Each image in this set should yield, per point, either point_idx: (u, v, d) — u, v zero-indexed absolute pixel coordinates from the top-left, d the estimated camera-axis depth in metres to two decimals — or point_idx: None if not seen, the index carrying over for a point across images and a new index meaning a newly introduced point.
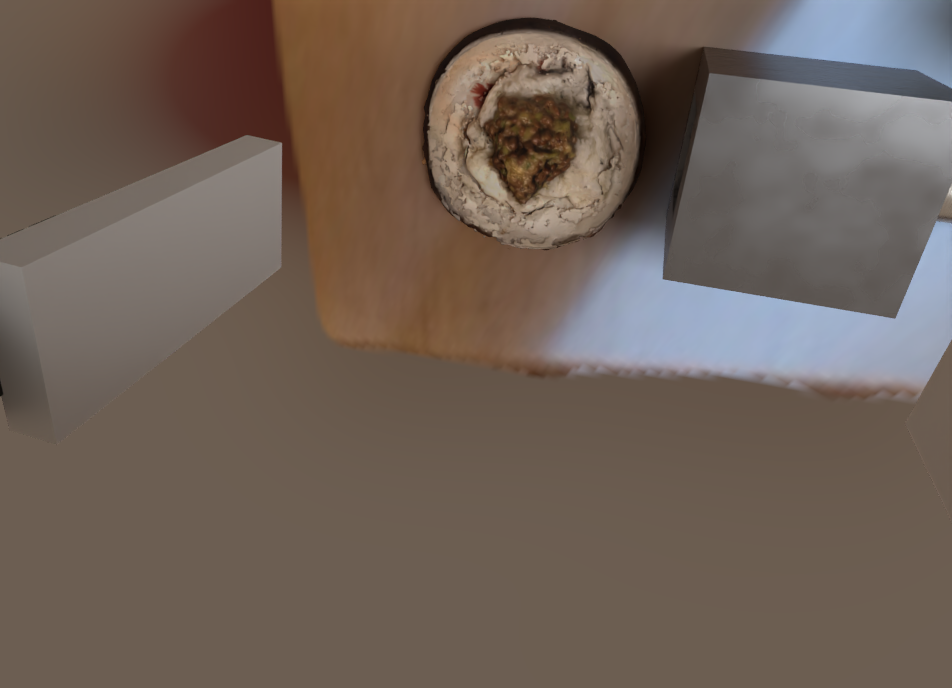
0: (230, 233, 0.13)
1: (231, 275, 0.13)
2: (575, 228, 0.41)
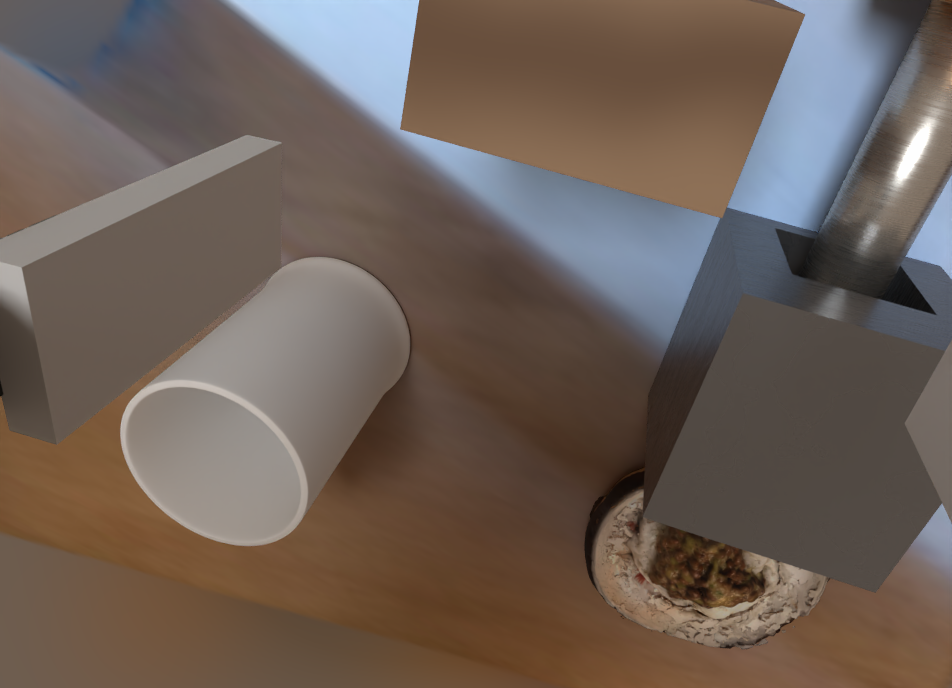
0: (230, 233, 0.13)
1: (231, 275, 0.13)
2: None
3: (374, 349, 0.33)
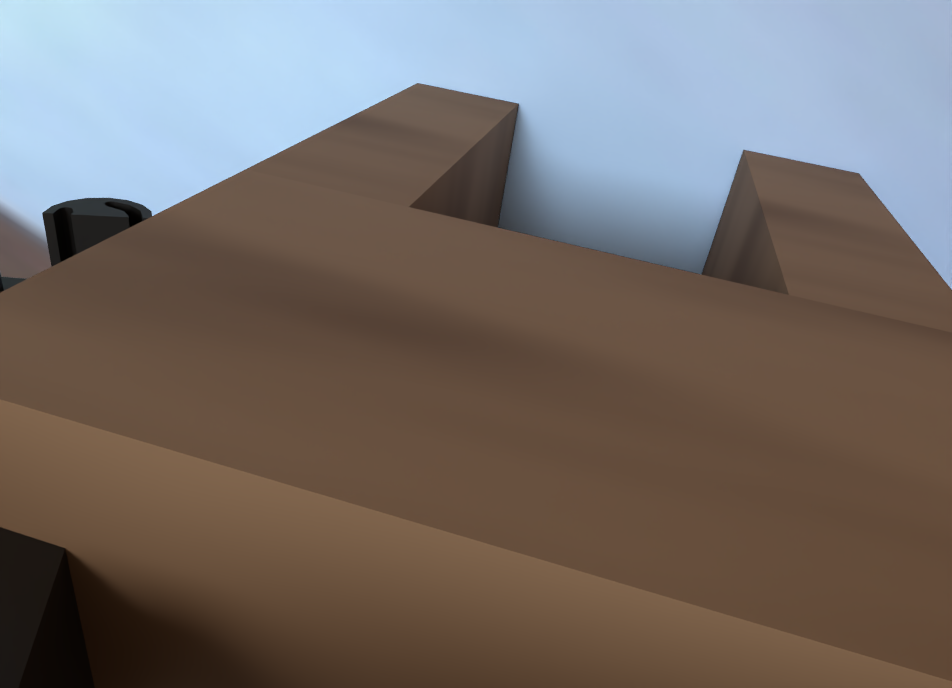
0: None
1: None
2: None
3: None
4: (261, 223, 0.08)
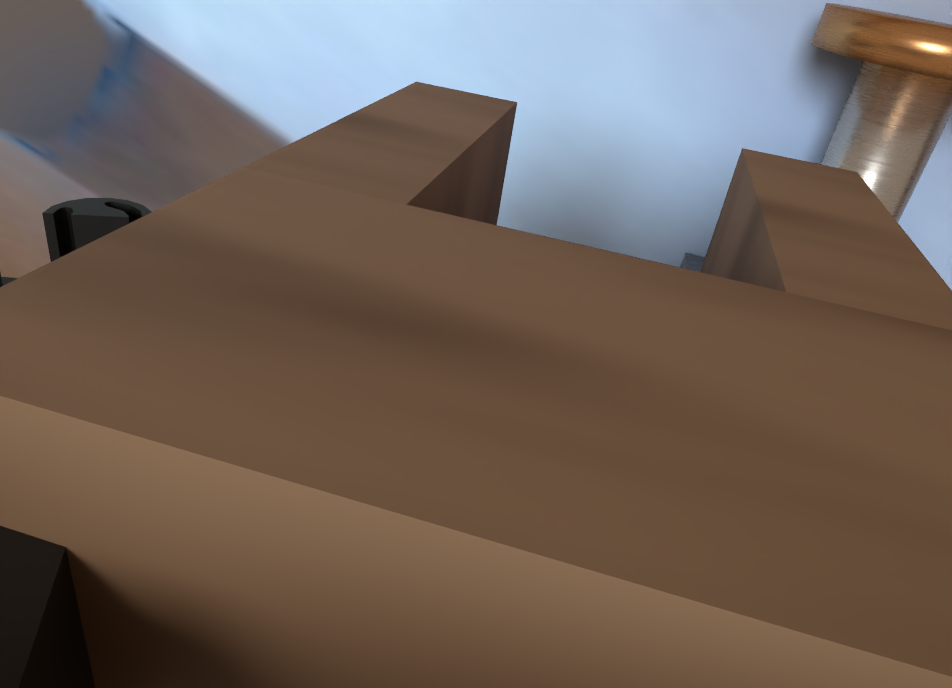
0: None
1: None
2: None
3: None
4: (258, 219, 0.08)
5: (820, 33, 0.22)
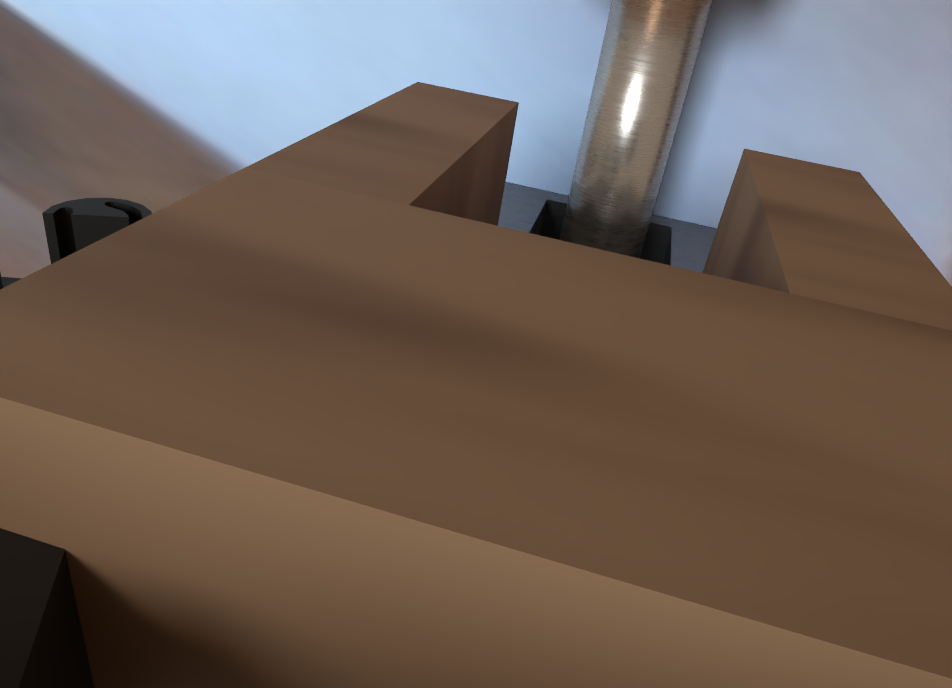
0: None
1: None
2: None
3: None
4: (261, 221, 0.08)
5: None
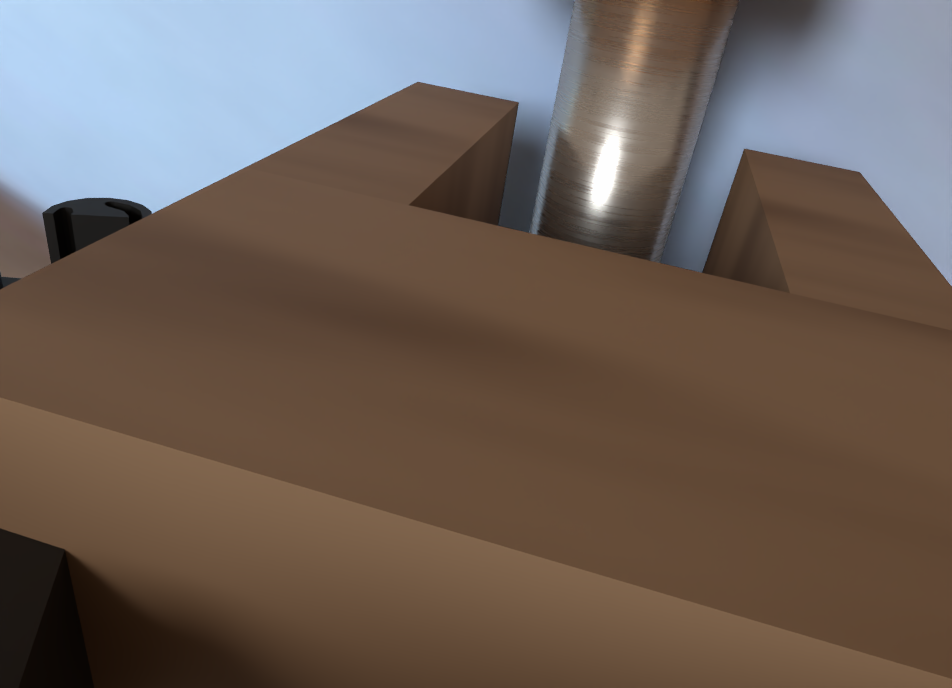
0: None
1: None
2: None
3: None
4: (261, 220, 0.08)
5: None
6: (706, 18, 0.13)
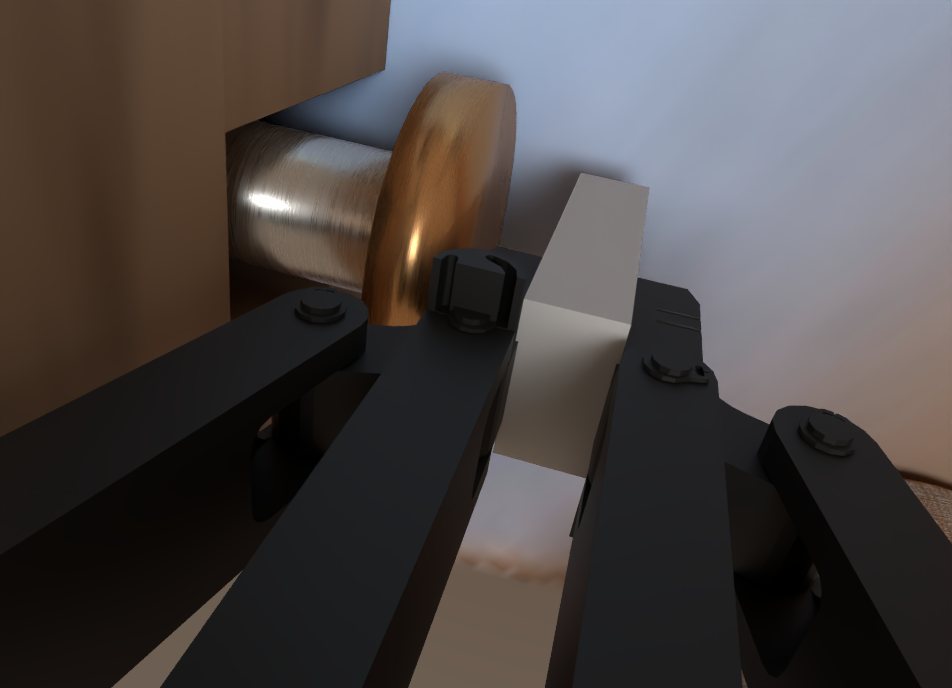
0: None
1: None
2: None
3: None
4: (161, 62, 0.09)
5: (451, 82, 0.13)
6: (362, 287, 0.14)
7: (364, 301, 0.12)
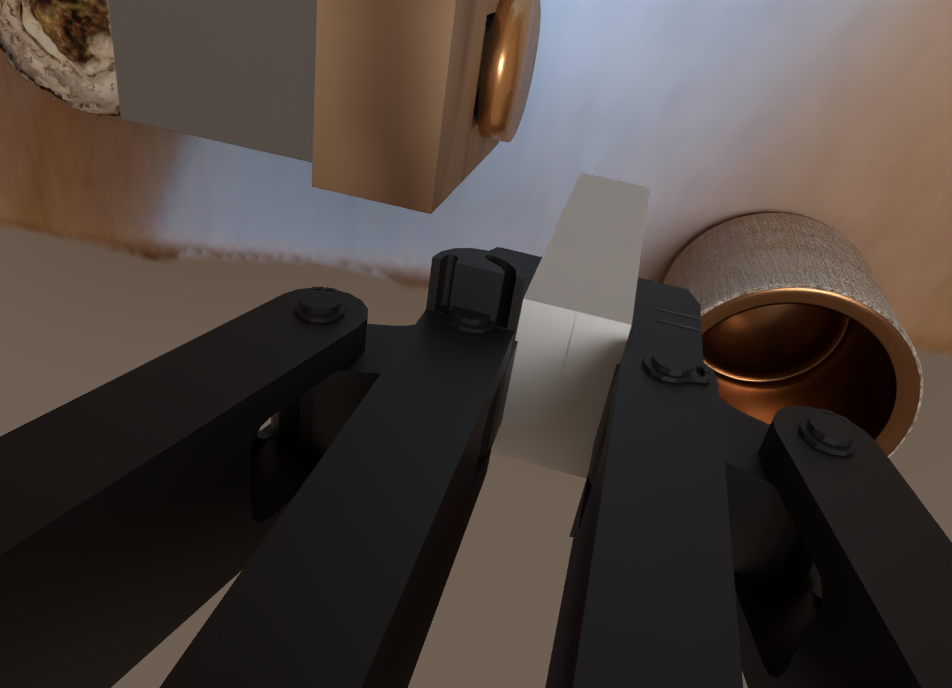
0: None
1: None
2: None
3: None
4: None
5: None
6: None
7: (482, 78, 0.30)
